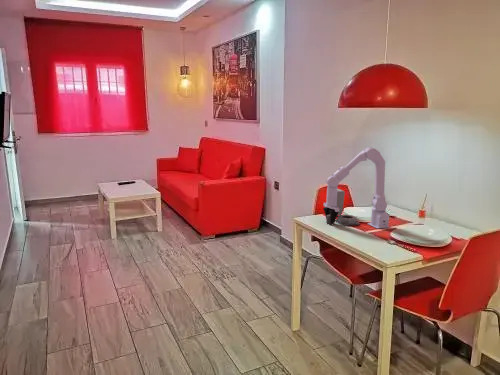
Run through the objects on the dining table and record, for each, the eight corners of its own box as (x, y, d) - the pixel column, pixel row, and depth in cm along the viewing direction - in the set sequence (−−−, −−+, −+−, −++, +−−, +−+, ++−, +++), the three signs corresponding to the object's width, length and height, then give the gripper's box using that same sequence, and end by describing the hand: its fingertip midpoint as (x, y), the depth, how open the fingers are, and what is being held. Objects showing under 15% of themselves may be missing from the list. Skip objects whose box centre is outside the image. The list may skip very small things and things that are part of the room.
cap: (335, 224, 217) (336, 215, 216) (328, 225, 215) (329, 216, 214) (331, 222, 221) (332, 213, 220) (324, 222, 219) (325, 214, 218)
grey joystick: (359, 224, 217) (359, 218, 216) (343, 226, 214) (344, 219, 213) (349, 220, 226) (350, 214, 226) (334, 221, 223) (334, 215, 223)
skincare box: (326, 213, 241) (327, 188, 238) (335, 212, 244) (336, 187, 241) (334, 216, 233) (335, 191, 231) (343, 215, 236) (345, 190, 233)
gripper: (319, 195, 221) (318, 218, 223) (331, 200, 207) (330, 225, 210) (330, 194, 223) (329, 217, 225) (343, 200, 209) (341, 224, 212)
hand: (330, 221), depth 218 cm, fingers closed on cap, 4 cm apart
